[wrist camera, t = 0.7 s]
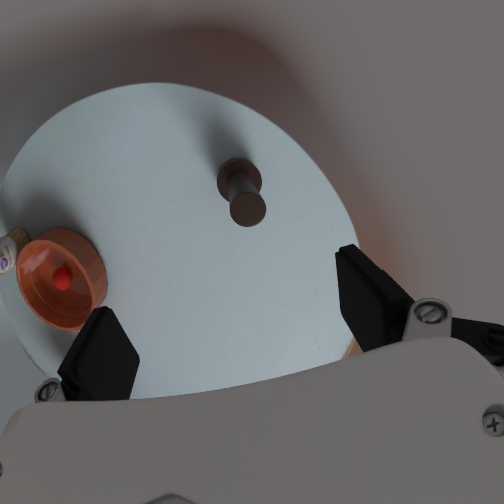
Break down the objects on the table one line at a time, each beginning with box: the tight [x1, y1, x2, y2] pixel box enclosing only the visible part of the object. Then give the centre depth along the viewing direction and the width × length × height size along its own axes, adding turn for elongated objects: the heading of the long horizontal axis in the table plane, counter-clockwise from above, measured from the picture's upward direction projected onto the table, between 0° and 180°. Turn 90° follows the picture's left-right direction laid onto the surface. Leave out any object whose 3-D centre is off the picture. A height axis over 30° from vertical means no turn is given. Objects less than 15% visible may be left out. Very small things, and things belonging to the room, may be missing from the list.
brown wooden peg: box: [217, 158, 266, 227], centre depth 24 cm, size 4×4×15 cm
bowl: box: [16, 228, 108, 331], centre depth 31 cm, size 13×13×5 cm
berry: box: [52, 267, 72, 290], centre depth 31 cm, size 3×3×3 cm
